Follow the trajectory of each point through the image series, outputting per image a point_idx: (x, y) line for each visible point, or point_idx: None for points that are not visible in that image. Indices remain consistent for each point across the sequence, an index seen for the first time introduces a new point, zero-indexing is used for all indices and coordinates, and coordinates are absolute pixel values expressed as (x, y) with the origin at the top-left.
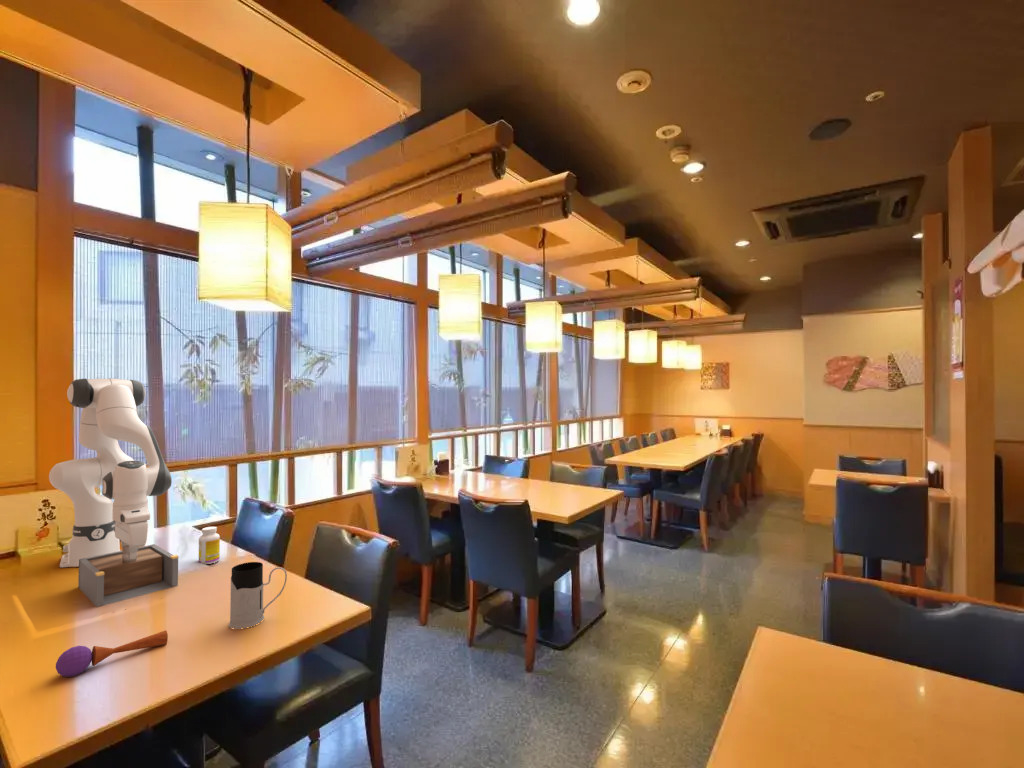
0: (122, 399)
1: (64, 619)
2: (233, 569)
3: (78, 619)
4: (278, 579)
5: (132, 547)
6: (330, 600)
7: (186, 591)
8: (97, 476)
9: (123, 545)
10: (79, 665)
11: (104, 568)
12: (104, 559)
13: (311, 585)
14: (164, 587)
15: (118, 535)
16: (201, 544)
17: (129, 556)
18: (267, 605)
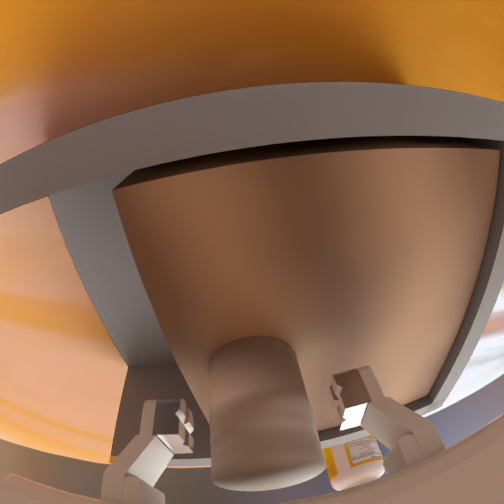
0: None
1: (39, 53)
2: None
3: (10, 103)
4: (104, 455)
5: (10, 474)
6: (5, 436)
7: (105, 375)
8: None
9: (389, 423)
10: None
11: (144, 228)
12: (450, 236)
13: (59, 454)
14: (136, 353)
15: (461, 484)
16: (348, 461)
17: (151, 412)
18: None
